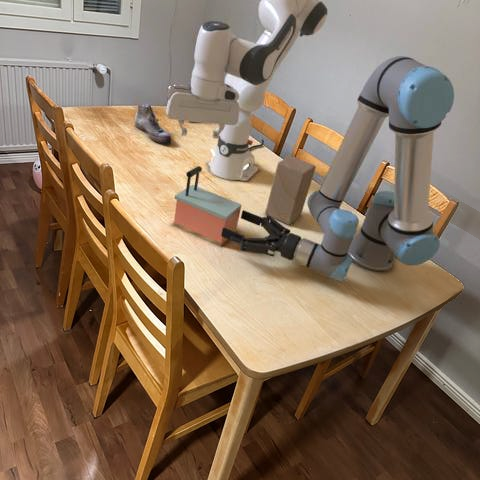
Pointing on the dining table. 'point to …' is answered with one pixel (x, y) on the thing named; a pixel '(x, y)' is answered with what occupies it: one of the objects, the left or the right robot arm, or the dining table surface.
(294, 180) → the wooden block
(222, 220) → the chest
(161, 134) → the shoe
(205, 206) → the lid
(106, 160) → the dining table surface
